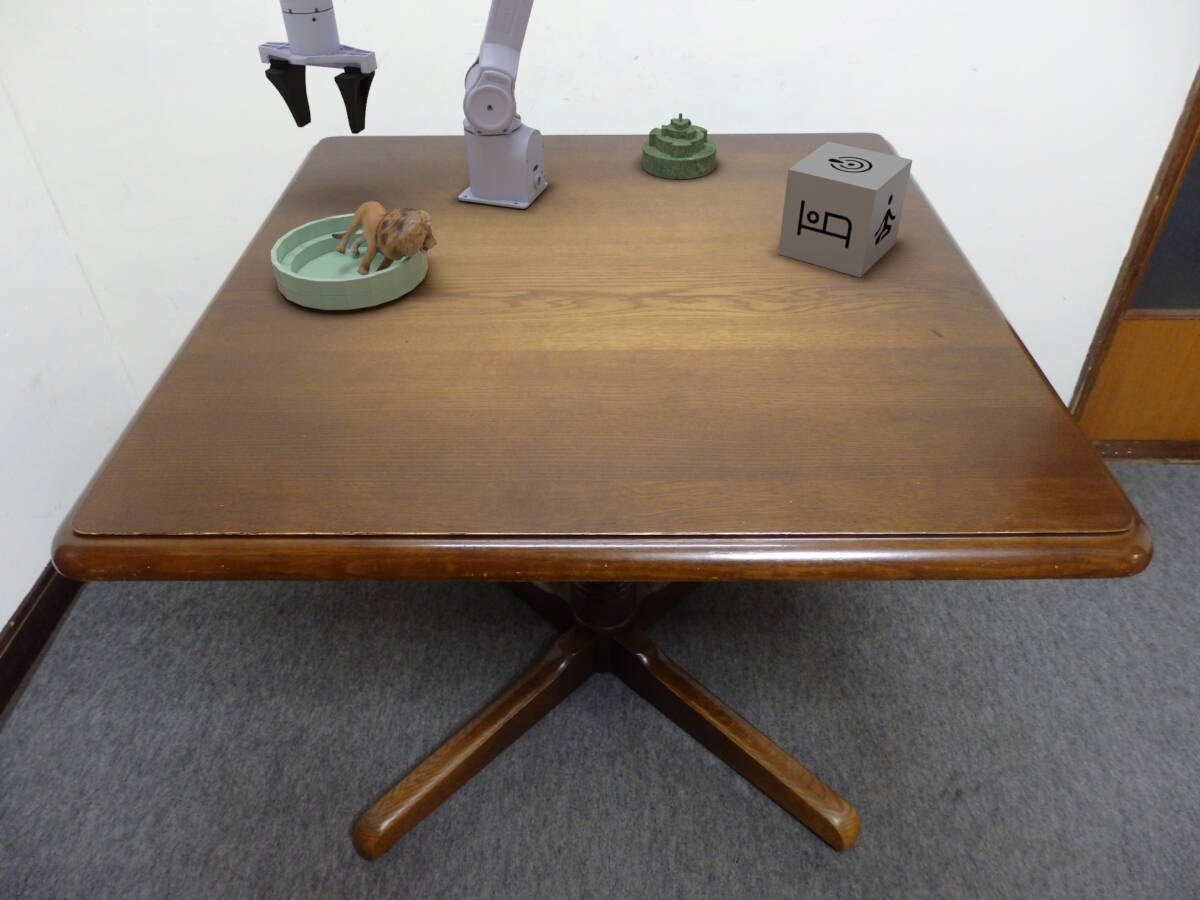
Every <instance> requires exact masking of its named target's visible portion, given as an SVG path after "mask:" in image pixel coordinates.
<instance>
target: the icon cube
mask: <svg viewBox="0 0 1200 900" xmlns="http://www.w3.org/2000/svg"><path fill="white" fill-rule="evenodd" d="M912 164H913V159H911V158H906V157H901V156H896V155H892V154H887V153H883V152H878V151H873V150H870V149H865V148H861V147H856V146H852V145H848V144H847V145H846V144H842V143H838V142H833V141H826V142H825V143H823V144H822V145H821V146H819V147H818V148H817V149H815V150H814V151H812V152H811V153H809V154H808V155H806V156H805V157H804V158H802V159H801V160H800V161H798V162H797V163H795V164H794V165H792V166H791V167H789V168H788V169H787V171H788V172H787V177H786V179H787V180H786V186H785V193H784V203H783V210H782V219H781V226H780V227H781V228H780V235H779V243H778V251H777V254H778V255H780V256H784V257H786V258H790V259H794V260H798V261H801V262H805V263H808V264H812V265H815V266H818V267H822V268H825V269H829V270H833V271H835V272H839V273H843V274H845V275H849V276H853V277H856V278H862V277H863V276H864V275H865V274H866V273H867V272H868V271H869V270H870V269H871V268H872V267H874V265H875V264H876V263H877V262H879V260H880V259H881V258H882V257H883V256H884V255H885V254H886V253H888V251H890V250H891V248H893V246H895V244H896V240H897V236H898V232H899V226H900V221H901V217H902V212H903V207H904V203H905V198H906V194H907V189H908V183H909V178H910V175H911V170H912Z"/></svg>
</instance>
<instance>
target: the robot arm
mask: <svg viewBox="0 0 1200 900" xmlns="http://www.w3.org/2000/svg"><path fill="white" fill-rule="evenodd" d="M534 1H535V0H491V4H490V7H489V11H488V16H487V21H486V25H485V30H484V34H483V37H482V40H481V44H480V47H479V51H478V55H477V57H476V59H475V60H474V62H473V63H472V64H471V65H470V66H469V68H468V69H467V71H466V73H465V77H464V90H465V91H464V95H463V96H464V97H463V100H462V111H463V114H464V116H465V118H464V119H463V121H462V125H463V133H464V134H463V135H464V142H465V143H464V145H465V153H466V163H467V170H468V182H469V186H467V188H466V189H464V190H463V191H462V192H461V193H460V194H459V195H458V196H457V199H458V200H459V201H462V202H471V203H476V204H484V205H490V206H491V205H492V206H499V207H506V208H507V207H508V208H514V209H520V210H521V209H523V210H524V209H527V208H529V206H530V205H531V204H532V203H533V202H534V201H535V200H536V199H537V198H538V196H540V194H541V193H542V192H543V191H545V189H546V188H547V187H548V185H549V184H548V182H547V181H546V168H545V149H544V148H545V147H544V139H543V136H542V133H541V130H539V129H537V128H533V127H529V126H527V125H525V124H524V123H523V122H522V117H521V115H520V114H518V111H517V101H516V100H517V99H516V94H515V93H516V92H515V90H516V81H517V77H518V72H519V65H520V59H521V58H520V57H521V54H522V53H521V52H522V49H523V45H524V41H525V36H526V33H527V29H528V25H529V21H530V17H531V13H532V9H533V7H534V6H533V5H534ZM279 5H280V9H281V14H282V19H283V25H284V28H285V32H286V37H287V41H288V42H287V41H285V42H283V41H281V42H277V41H266V42H264V43H262V44H260V45H258V46H257V49H258V53H259V56H260V61H261V63H262V64H269V67H268V68H267V69H265V70H264V73H265V74H264V75H265V78H266V79H267V80H268V81H269V82H270V84H272V86H273V87H274V89H276V90H277V92H278V93H279V95H280V96H281V98H282V99H283V101H284V102H285V105H286V106H287V108H288V110H289V112H290V114H291V116H292V118H293V121H294V122H295V124H296V126H297V128H301V129H302V128H305V126H307V125H309V124H311V123H312V114H311V107H310V103H309V97H308V91H307V78H306V77H307V66H310V67H317V68H318V67H319V68H329V69H340V70H343V71H344V72H341V73H338V74H337V75H335V76H334V77H333V79H334V80H333V81H334V82H335V84H336V86H337V88H338V90H339V93H340V95H341V98H342V100H343V101H342V102H343V104H344V108H345V113H346V117H347V121H348V122H347V123H348V127H349V130H350V132H351V134H354V135H358V134H360V133H361V132H363V131H364V130H365V129H366V115H367V114H366V113H367V106H368V99H369V94H370V91H371V87H372V84H373V80H374V78H375V76H376V70H378V63H377V58H376V52H375V51H371V50H365V49H361V48H357V47H353V46H350V45H345V44H341V41H340V35H339V31H338V24H337V19H336V15H335V8H334V3H333V0H279Z"/></svg>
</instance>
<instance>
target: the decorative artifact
mask: <svg viewBox="0 0 1200 900" xmlns="http://www.w3.org/2000/svg"><path fill="white" fill-rule="evenodd" d="M641 149H642V151H641V153H642V154H641V166H642V168H643V170H644V171H645V172H646V173H648V174H650V175H652V176H655V177H658V178H663V179H668V180H669V179H670V180H692V179H698V178H700V177H704V176H706V175H709V174H710V173H712V172H713V171H714V170H715V168H716V167H715V166H716V157H717V145H716V143H715V142H714V141H712V140H711V139H709V138H708V129H707V128H704V127H702V126H700V125H696V124H692V121H691V119H689V118H683V112H679V113H678V118H676V117H673V118H671V119H670V123H669V124H661V128H659V127H654V128H652V129H651V130H650V131H649V133H648V139H647V140H645V141H644V142H643V144H642V147H641Z"/></svg>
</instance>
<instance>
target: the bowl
mask: <svg viewBox="0 0 1200 900" xmlns="http://www.w3.org/2000/svg"><path fill="white" fill-rule="evenodd" d="M355 213H356V212H355ZM355 213H346V214H338V215H331V216H327V217H324V218H320V219H317V220H313V221H309V222H307V223H304V224H301V225H299V226H298V227H295V228H293V229H291V230H289V231H288V232H287V233H285V234H283V236H281V237H280V238H278V239H277V240H276V242H275V243H274V245H273V247H272V248H271V250H270V262H271V266H272V269H273V274H274V277H275V280H276V281H275V282H276V285H277V288H278V290H279V292H280V293H281V294H282V295H283V296H284V298H286V299H287V300H288V301H290V302H292V303H295V304H297V305H299V306H301V307H304V308H305V307H306V308H312V309H316V310H317V309H318V310H322V311H349V310H350V311H352V310H355V309H356V310H357V309H362V308H363V309H364V308H371V307H375V306H378V305H381V304H385V303H388V302H390V301H393V300H396V299H398V298H400V297H402V296H404V295H405V294H407V293H409V292H411V291H413V290H415V288H416V287H418V285H419V284H420V283H422V281H423V280H424V279H425V278H426V275H427V272H428V270H429V261H428V255H427V252H426V253H425V254H423V253H422V252H421V251H420V250H418V252H417V253H416V254H414V255H411V256H404V257H403V258H402V259H401V260H394V261H393V263H392V264H391V265H390V266H389V267H388V268H387V269H384V270H381V271H377V272H376V270H377V268H378V267H379V265H380V264H381V263H382V261H383V259H384V257H385V256H383V255H381V254H380V253H377V254H376V255H375V257H374V259H373V260H372V262H371V265H370V270H369V274H368V275H361V274H359V273H358V272H357V269H358V268H359V267H360V265H361V263H362V260H363V258H364V256H365V253H366V250H367V248H368V245H369V243H368V242H364V243H362V244H361V245H360V246H359V248H358V250H359V252H360V254H359V255H358V256H357V255H355V254H353V253H351V252H350V247H351V245H352V244H353V242H354V241H355V239H356V238H357V237H358V236H359V235H360V234H362V233H363V226H362V227H361V228H360V229H359V230H358V231H357V232H356V233H355V234H354V235H353V236H352V237H351V239H350V241H349V243H348V244H347V246H346V248H345V250H346V253H345V254H341V253H339V252H337V251H336V250H335V248H336V247H337V246H338V245H339V244H340V242H341V240H342V239H335V238H333V237H332V234H338V233H345V232H346V231H348V229H349V226H350V224H351V222H352V219H353V217H354V215H355Z"/></svg>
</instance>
